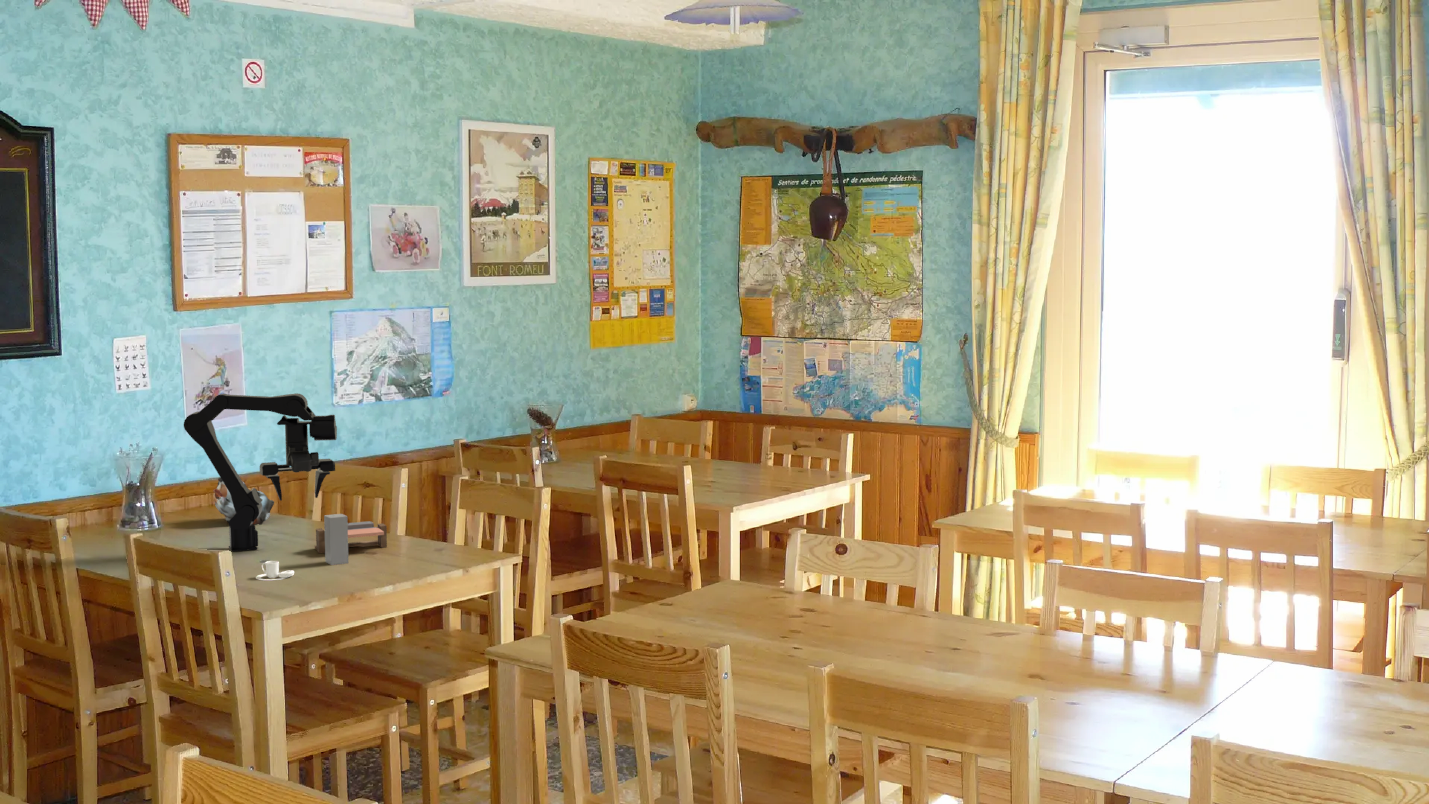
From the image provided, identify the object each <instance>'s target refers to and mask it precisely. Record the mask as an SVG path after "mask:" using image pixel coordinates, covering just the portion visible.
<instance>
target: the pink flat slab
mask: <svg viewBox="0 0 1429 804" xmlns="http://www.w3.org/2000/svg"><path fill="white" fill-rule="evenodd" d="M378 535H384V532H383V531H382V530H381V529H379V528H378V526H375V523H374V522H373V521H369V520H368V521H358V522H357V521H356V522H348V539H352V538H362V537H374V536H377V537H378Z"/></svg>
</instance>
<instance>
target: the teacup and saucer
mask: <svg viewBox="0 0 1429 804" xmlns="http://www.w3.org/2000/svg"><path fill="white" fill-rule="evenodd" d="M264 566H265V569H264ZM261 569H262V571H263V573H262V574H258V575H257V576H255V579H256V580H259V581H279V580H285V579H288V578H290V577H292V576H294V574H295V570H291V569H290V570H283V571H281V572H280V562H279V560H268V561H265V562H263V563H262V564H261ZM263 577H267V578H268V579H265V578H263ZM277 577H278V578H277Z"/></svg>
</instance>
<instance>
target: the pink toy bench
mask: <svg viewBox="0 0 1429 804" xmlns="http://www.w3.org/2000/svg"><path fill="white" fill-rule="evenodd" d="M377 527H378V528H379V529H381V530H382V531H383V532H384V535H377V539H376V540H365V541H354V542H348V548H352V547H353V548H354V547H364V546H376V545H377V546H379V547H380V548H381V549H382V548H388V539H387V538H388V536H387V535H388V534H387V531H388V530H387V529H388V528H387V525H386V524H384V523H377ZM315 544H316V545H314V550H316V552H317V553H318V554H325V529H323V528H321V527H320V528H316V529H315Z"/></svg>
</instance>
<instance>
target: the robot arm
mask: <svg viewBox="0 0 1429 804" xmlns="http://www.w3.org/2000/svg"><path fill="white" fill-rule="evenodd" d="M224 410H235V411H237V410H239V411H240V410H241V411H257V412H259V411H263V412H272V413H276V414H279V415H282V417H281V418H280V420H278V421H277V423H276V424H277V425H278V426H284V434H285V435H284V436H285V461H286V462H285V464H278V463H277V462H276V461H271V462H261V463H260V464H259V474H260V475H261V476H263V477H266V478H267V479H268V480H269V479H270V481H271V483H272V484H273V486H274V489H275V491H276V492H275V493H276V494H277V497H278V500H279V501H282V500H283V496H282V495H283V494H282V487H281V483H280V482H281V479H280V478H281V477H280V475H279V474H278V473H281V472H293V473H300V472H301V473H302V472H306V473H308V472H312V470H315V477H314V497H315V499H318V498H319V493H320V490H321V487H322V485H323V482H324V479H325V478H326V476H329V475H331V472H335V471H336V463H335V461H334V460H333V459H331V458H319V452H318V451H313V452H310V451H309V437H310V438H313V440H314V441H315V442H316V441H317V442H319V441H336V440H337V439H338V438H337V437H338V427H337V423H336V421H337V420H336V414H327V415H316V414H315V413H314V412H313V410H312V409H311V408H310V407H309V403H308V400H307V397H305V395H303V394H301V393H297V392H296V393H295V392H294V393H289V394H288V393H287V394H281V395H273V396H265V395H244V394H243V395H241V394H239V395H238V394H227V393H219V394H218V395H215V397H214V398H213V400H211V401H210V402H209V403H207V404H206V405H205V406H204V407H203V408H202V409H201V410H199V411H196V412H193V413H191V414H189V415H188V416H186V417H185V419H184V420H183V421H184V422H183V428H184V430H185V432H186V433H187V435H189V436H190V438H191V439H192V440H193V441H194V442H195V443H196V444H197V445H198V446H200V447H201V448H202V450H203V451H204V453H205V455H206V456H207V458H208V459H209V461H210V463H211V465H212V466H213V467H214V469H215V471H216V472H217V474H218V475H219V478H221V479H222V481H223V482H224V484H225V486H226V487H227V489H228V491H229V492H230V495H231V498H232V502H233V506H234V509H235V511H236V514H235V515H234V516H233V517H232V518H231V519H230V520H229V521H227V524H228V530H229V531H228V533H229V545H228V548H229V550H230V551H231V552H232V551H233V552H245V551H255V550H258V546H259V532H258V530H257V529H256V525H254V524H252V523H254V520H255V519H257V517H258V516H259V515H260V513H261V512H262V508H263V507H262V503H261V502H262V501H263V500H262V499H261V498H260V497H259V496H258V494H257V491H258V490H257V491H256V489H257V488H255V487H253V488H251V489H252V490H251V489H249V488H248V487H246V486H247V485H246V484H245V485H246V486H245V485H244V484H243V482H244V481H243V480H242V479H241V477H240V475H239V474H238V472H237V470H236V469H235V467H234V466H233V463H232V462H231V460H230V459H229V457H228V455H227V454H226V452H225V450H224V449H223V447H222V446H221V444H220V442H219V440H218V437H217V434H216V430H215V427H214V424H213V422H212V421H213V420H215V418H217V417H218V416H219V415H220V414H221V413H222V412H224ZM300 419H301V420H300ZM302 420H303V421H302ZM308 425H309V432H308ZM308 433H309V434H308ZM308 435H309V437H308ZM242 481H243V482H242Z"/></svg>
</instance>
